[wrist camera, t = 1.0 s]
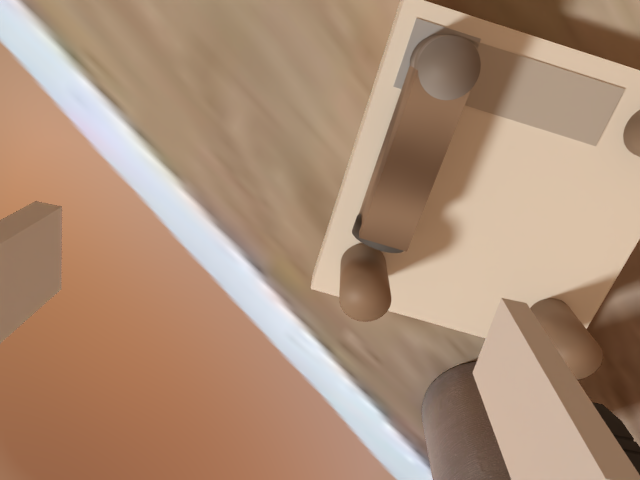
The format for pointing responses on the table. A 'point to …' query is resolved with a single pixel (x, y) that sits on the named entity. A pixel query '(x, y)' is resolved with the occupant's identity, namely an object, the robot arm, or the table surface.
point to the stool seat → (501, 190)
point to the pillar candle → (460, 429)
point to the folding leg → (417, 141)
